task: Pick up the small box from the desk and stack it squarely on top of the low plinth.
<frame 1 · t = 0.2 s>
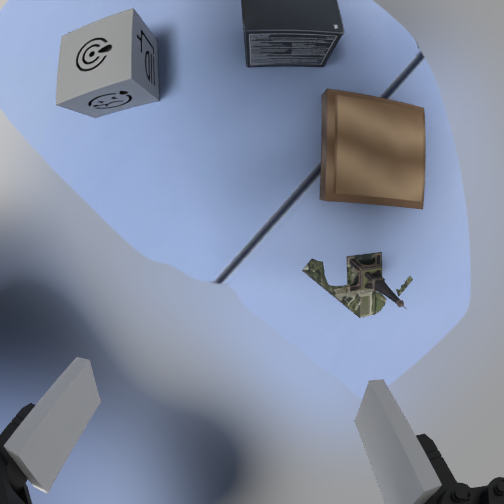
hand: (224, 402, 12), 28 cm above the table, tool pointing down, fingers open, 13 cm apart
icon cube: (125, 78, 33), on the table
small box: (283, 47, 33), on the table
plinth: (371, 151, 36), on the table
eiffel tower figurine: (360, 272, 40), on the table
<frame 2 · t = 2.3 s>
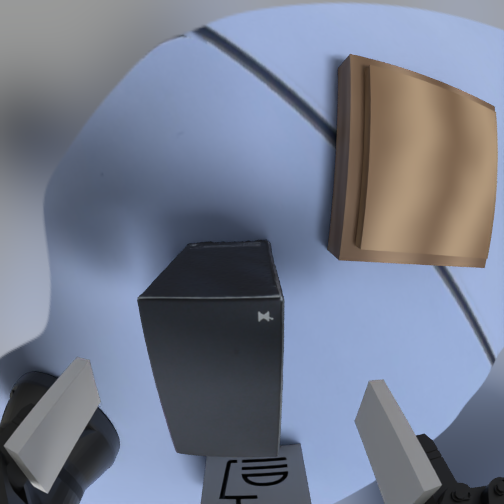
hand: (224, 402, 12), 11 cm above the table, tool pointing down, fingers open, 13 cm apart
icon cube: (256, 469, 28), on the table
small box: (229, 306, 23), on the table
plinth: (416, 169, 20), on the table
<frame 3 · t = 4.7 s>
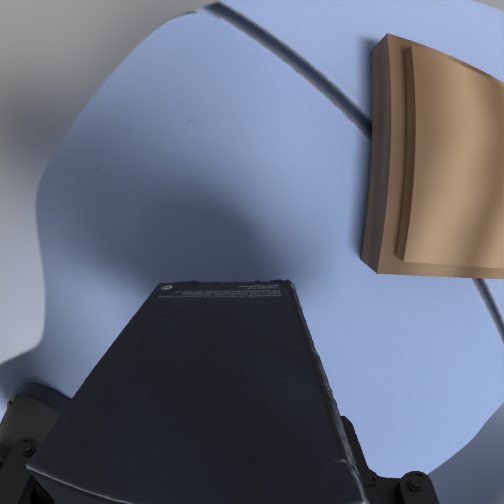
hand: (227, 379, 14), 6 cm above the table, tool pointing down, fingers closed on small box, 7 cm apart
small box: (226, 373, 14), point 5 cm above the table, touching gripper
plinth: (456, 168, 16), on the table
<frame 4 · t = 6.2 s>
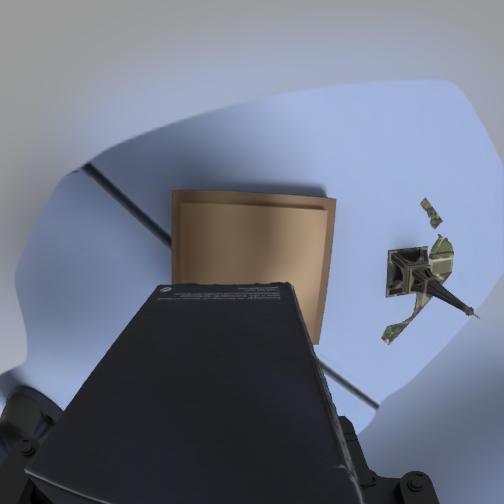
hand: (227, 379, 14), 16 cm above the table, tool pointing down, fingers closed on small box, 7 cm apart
small box: (226, 375, 14), point 15 cm above the table, touching gripper
plinth: (250, 265, 29), on the table
eiffel tower figurine: (405, 273, 30), on the table
when the fingers open (5 cm above the table, at t = 8.2 s): small box drops 1 cm, resting on plinth.
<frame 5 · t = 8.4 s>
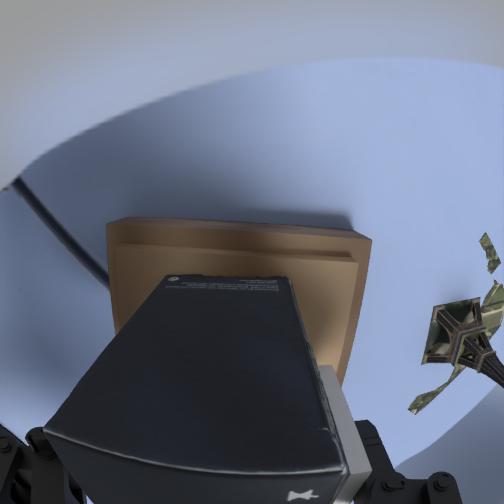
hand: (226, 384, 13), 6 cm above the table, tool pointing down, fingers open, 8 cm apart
small box: (225, 363, 15), point 4 cm above the table, touching plinth
plinth: (233, 329, 19), on the table
eiffel tower figurine: (448, 332, 20), on the table
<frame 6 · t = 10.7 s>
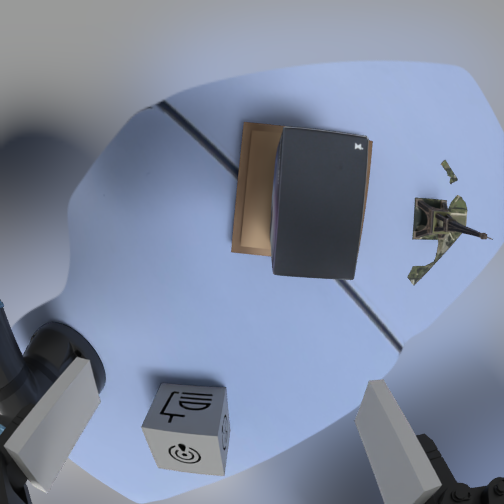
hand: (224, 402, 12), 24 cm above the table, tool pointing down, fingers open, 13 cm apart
icon cube: (197, 407, 42), on the table
small box: (302, 195, 30), point 4 cm above the table, touching plinth
plinth: (300, 193, 33), on the table
eiffel tower figurine: (428, 222, 34), on the table
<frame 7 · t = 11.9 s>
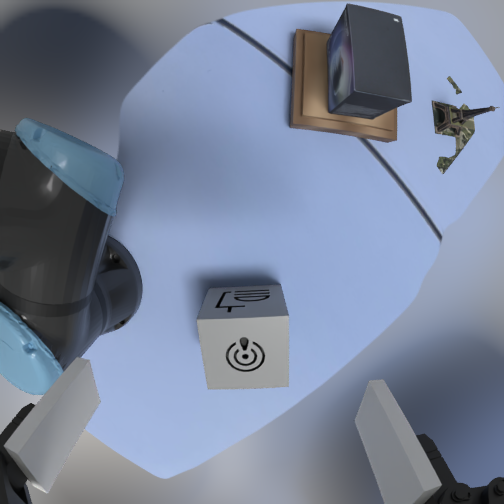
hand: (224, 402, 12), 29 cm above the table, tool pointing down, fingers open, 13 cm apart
icon cube: (247, 317, 42), on the table
small box: (348, 79, 31), point 4 cm above the table, touching plinth
plinth: (342, 87, 34), on the table
eiffel tower figurine: (445, 122, 36), on the table
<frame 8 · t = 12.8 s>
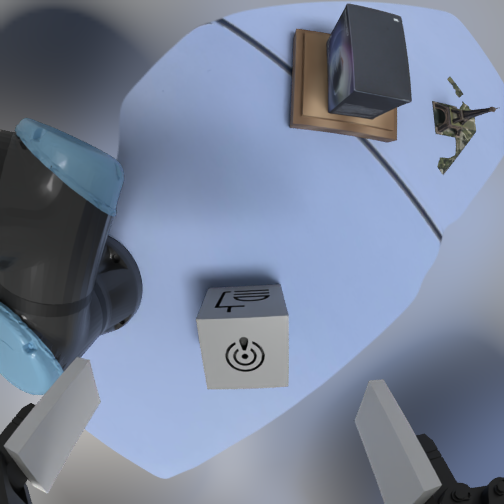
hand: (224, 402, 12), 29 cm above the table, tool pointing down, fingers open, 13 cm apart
icon cube: (246, 317, 42), on the table
small box: (348, 79, 31), point 4 cm above the table, touching plinth
plinth: (342, 87, 34), on the table
eiffel tower figurine: (445, 123, 36), on the table
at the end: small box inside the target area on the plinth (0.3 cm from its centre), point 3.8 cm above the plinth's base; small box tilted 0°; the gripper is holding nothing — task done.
